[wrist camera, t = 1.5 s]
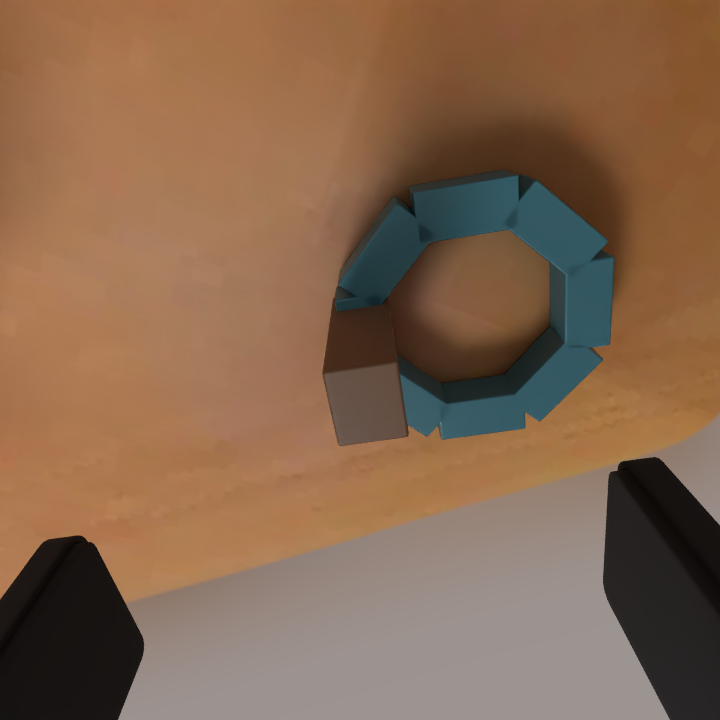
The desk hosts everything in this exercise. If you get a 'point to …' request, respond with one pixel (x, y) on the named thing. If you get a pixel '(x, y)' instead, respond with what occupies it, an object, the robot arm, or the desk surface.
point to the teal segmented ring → (481, 395)
